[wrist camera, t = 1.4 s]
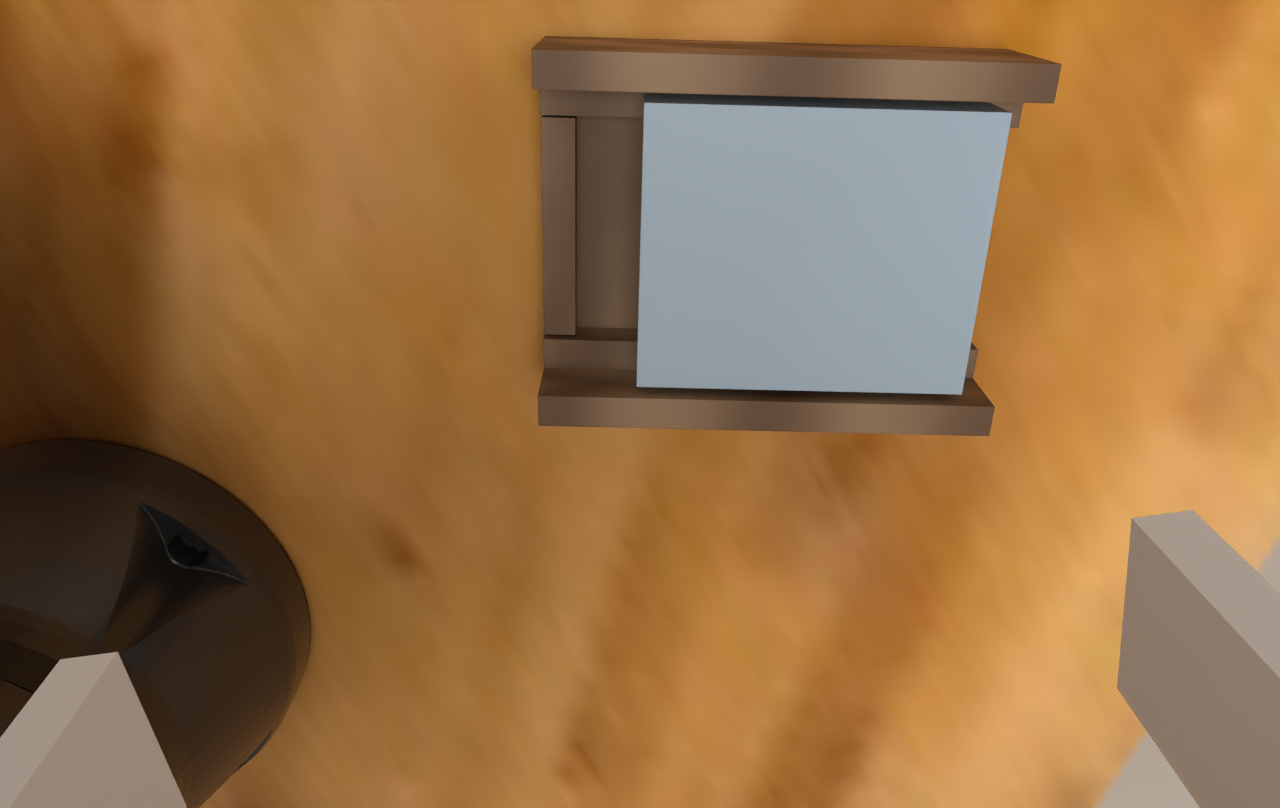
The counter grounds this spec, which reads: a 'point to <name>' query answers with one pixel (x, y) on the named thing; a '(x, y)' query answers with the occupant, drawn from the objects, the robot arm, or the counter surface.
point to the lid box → (611, 212)
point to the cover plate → (813, 241)
